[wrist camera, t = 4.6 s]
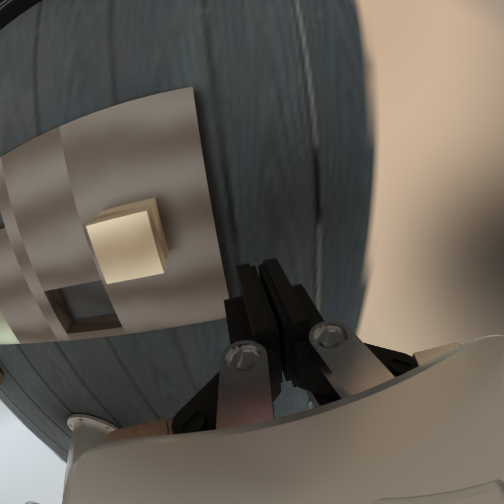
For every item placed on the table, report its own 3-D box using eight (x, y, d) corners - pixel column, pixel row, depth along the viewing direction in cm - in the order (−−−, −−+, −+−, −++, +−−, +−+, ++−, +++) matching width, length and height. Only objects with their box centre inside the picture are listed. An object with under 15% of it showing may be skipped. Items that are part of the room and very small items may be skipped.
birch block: (168, 251, 23) (164, 273, 20) (118, 261, 23) (106, 284, 19) (155, 197, 21) (146, 210, 18) (102, 210, 21) (85, 226, 17)
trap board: (229, 299, 30) (237, 335, 25) (-7, 332, 26) (-22, 356, 20) (193, 92, 21) (191, 79, 15) (-60, 205, 16) (-84, 220, 11)
